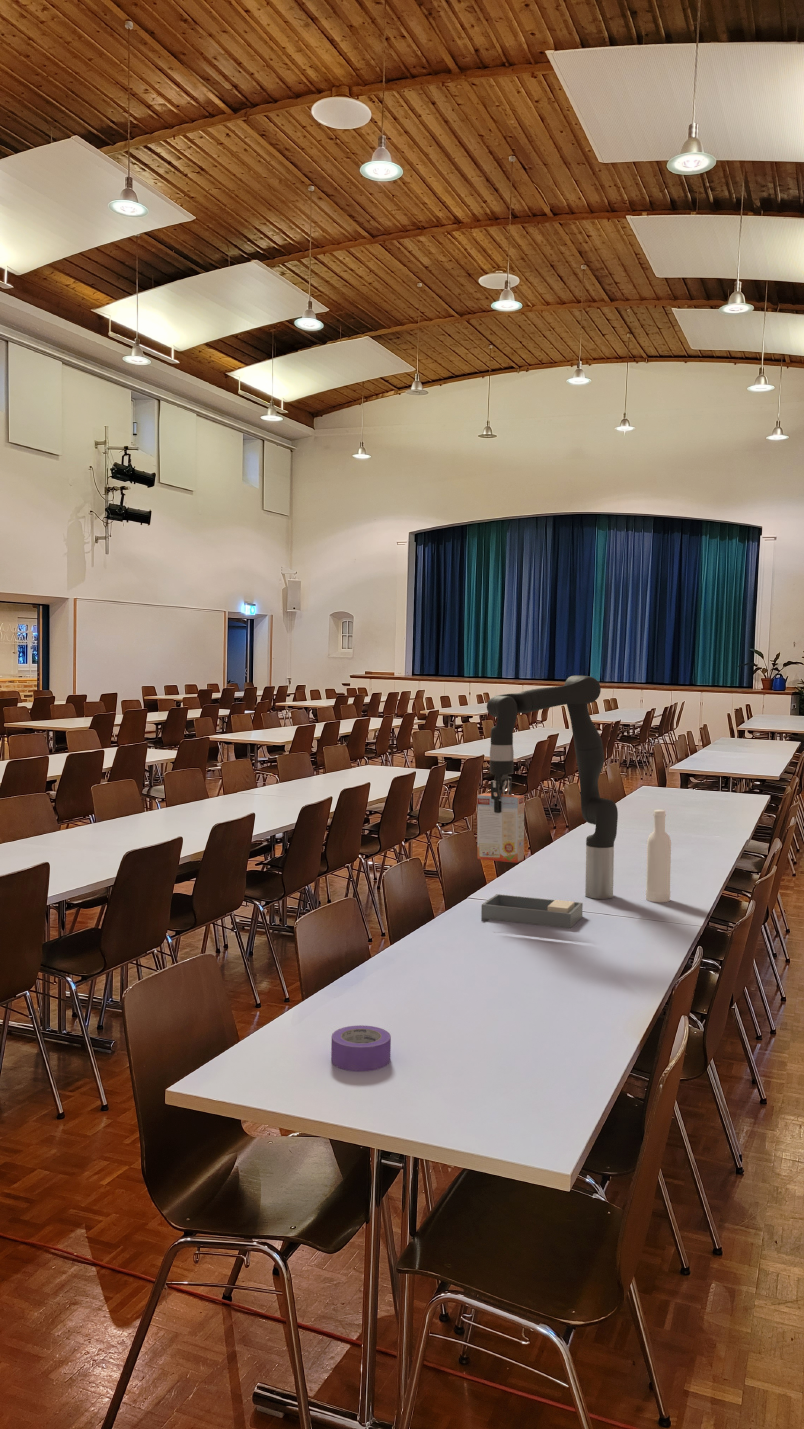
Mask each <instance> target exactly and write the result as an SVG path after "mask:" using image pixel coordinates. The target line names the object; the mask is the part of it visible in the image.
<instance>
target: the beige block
mask: <svg viewBox="0 0 804 1429" xmlns="http://www.w3.org/2000/svg"><path fill="white" fill-rule="evenodd" d="M554 900H555V901H553V902H552V903H551V904H550V905H549V906H548V909H547V911H553V912H562V913H569V912H570V911H572V910H573V909H574V902H575V901H569V900H561V899H554Z"/></svg>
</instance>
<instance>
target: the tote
mask: <svg viewBox="0 0 804 1429" xmlns="http://www.w3.org/2000/svg"><path fill="white" fill-rule="evenodd" d="M555 900H556V899H548V898H547V899H546V898H539V897H538V898H537V897H529V896H528V897H527V896H520V895H519V896H517V895H509V894H500V893H499V894H498V893H497V894H495V895H493V896H492V897H490V898H489V899H488V900H486V901H485V902H482V904H481V915H480V916H481V922H489V921H490V920H493V921H501V922H502V921H503V922H510V923H511V922H512V923H520V924H530V925H540V926H547V927H554V928H557V927H558V928H563V929H571V928H572V927H574V926H575V925H576V924H577V922H578V921H580V920H581V918H582V917H583V906H584V905H583V902H578V901H577V902H576V901H573V902H574V909H573V910H572V911H570V912H569V913H562V912H553V911H547V909H548V906H549V905H550V904H551V903H552V902H553V901H555Z"/></svg>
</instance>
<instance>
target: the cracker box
mask: <svg viewBox="0 0 804 1429" xmlns="http://www.w3.org/2000/svg"><path fill="white" fill-rule="evenodd" d="M496 796H497V795H496ZM476 828H477V830H476V831H477V837H476V838H477V841H476V842H477V849H476V850H477V854H476V855H477V857H476V858H477V859H478V860H485V861H496V862H503V863H505V862H506V863H513V864H516V863H520V862H523V861H524V860H525V795H522V794H521V795H519V794H511V795H507V794H503V795H502V800H501V813H495V812H494V801H493V799H491V792H487V793H485V792H483V793H480V794H478V795H477V826H476Z"/></svg>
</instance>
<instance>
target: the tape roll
mask: <svg viewBox="0 0 804 1429" xmlns="http://www.w3.org/2000/svg"><path fill="white" fill-rule="evenodd" d="M391 1037H392V1036H391V1034H390V1032H389V1031H388V1030H386V1029H385V1028H381V1027H378V1026H372V1025H363V1024H362V1025H350V1026H349V1025H348V1026H345V1027H344V1026H343V1027H341V1028H339V1029H336V1030H334V1031H333V1032H332V1034H331V1043H330V1044H331V1052H330V1053H331V1054H330V1055H331V1058H330V1062H331V1063H332V1064H333V1065H334V1066H335V1067H336V1068H338V1069H341V1070H344V1071H349V1072H371V1071H372V1072H373V1071H376V1070H379V1069H383V1068H385V1067H386V1066H388V1065H389V1063H390V1062H391V1051H392V1050H391V1048H392V1046H391V1044H392V1042H391V1041H392V1040H391V1039H392V1038H391Z"/></svg>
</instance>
